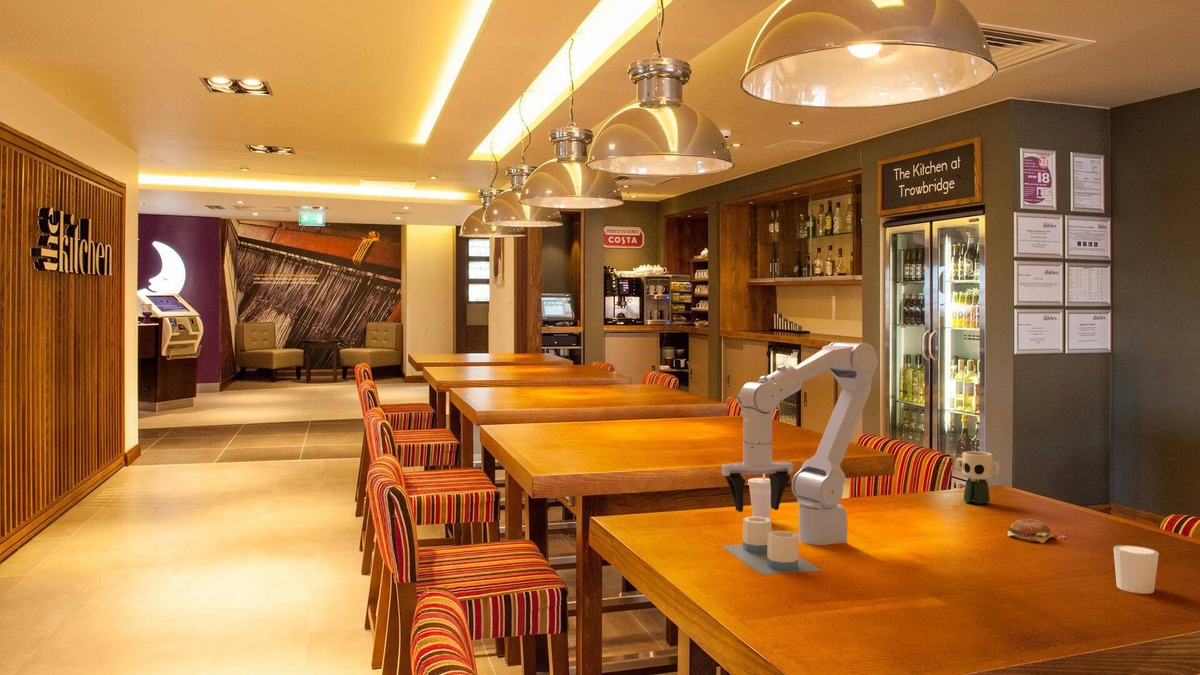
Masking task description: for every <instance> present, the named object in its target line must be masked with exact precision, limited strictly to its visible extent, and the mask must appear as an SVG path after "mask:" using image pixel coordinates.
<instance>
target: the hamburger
mask: <svg viewBox="0 0 1200 675" xmlns="http://www.w3.org/2000/svg"><path fill="white" fill-rule="evenodd" d="M1010 536H1013V537H1014V538H1016V539H1017V540H1020V541H1026V542H1033V543H1034V542H1036V543H1037V542H1038V543H1041V544H1044V543H1045V542H1046V541H1048V540H1049V539H1050V538H1053V539H1062V540H1066V538H1068V536H1067V535H1064V534H1062V533H1057V532H1052V531H1051V529H1050V527H1049V526H1048V525H1047V524H1046V523H1045V522H1044V521H1040V520H1039V519H1033V518H1032V519H1031V518H1028V519H1024V518H1023V519H1017V520H1015V521H1014V522H1012V523H1011V525H1010V526H1009V527H1008V531H1007V537H1010Z"/></svg>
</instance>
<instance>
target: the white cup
mask: <svg viewBox="0 0 1200 675" xmlns="http://www.w3.org/2000/svg"><path fill="white" fill-rule="evenodd" d="M1159 554H1160V553H1159V551H1157V550H1155V549H1153V548H1149V547H1144V546H1139V545H1132V544H1131V545H1129V544H1128V545H1127V544H1124V545H1122V544H1121V545H1119V544H1118V545H1115V546H1114V547H1113V558H1114V567H1115V568H1114V570H1115V571H1114V572H1115V580H1116V581H1115V582H1116V587H1117V588H1118V589H1119V590H1122V591H1125V592H1129V593H1134V594H1145V595H1146V594H1153V593H1154V592H1155V588H1156V587H1155V586H1156V585H1155V584H1156V578H1157V571H1158V570H1157V569H1158V564H1159V563H1158V562H1159Z"/></svg>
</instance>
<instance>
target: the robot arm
mask: <svg viewBox="0 0 1200 675" xmlns="http://www.w3.org/2000/svg"><path fill="white" fill-rule="evenodd" d="M878 364H879V360H878V356H877V354H876V350H875V349H874V346H872V345H871V344H869V343H867V342H860V343H859V342H856V343H855V342H840V341H833V342H831V343H829V344H827V345H824V346H822V348H821V350H819V351H817V352H816V353H815V354H812V355H811V356H809V357H808V358H806V359H805V360H803V361H801V362H800V363H799V364H797V365H796V366H792V365H785V364H784V365H782V364H780V365H778V366H776V370H775V371H773V372H772V373H770V374H768V375H762V376H760V377H759V378H758V379H759V380H757V381H756V382H754V381H749V382H746V383H745V384H744V385H743V386H742V387H741V389H740V391H739V392H738V395H736V400H737V403H738V406H739V407H740V409H741V416H742V418H743V420H742V422H743V425H742V426H743V427H742V431H743V432H742V441H743V442H742V462H738V463H737V462H736V463H728V464H721V475H722V476H724V479H725V480H726V483H727V484H728V487H729V490H730V492H731V494H732V498H733V501H734V507H735V510H736V511H737V512H739V513H740V512H741V513H742V512H743V511H744V490H745V483H746V479H744V478H743V475H763V474H765V475H766V474H768V476H769V478H768V479H770V485H771V509H773V510H775V511H778V510H779V508H780V503H781V500H782V497H783V494H784V492H785V489H786V488H787V486H788V483H790V481H791V491H792V494H793V495H794V496H795V497H796V501H797V503H798V542H801V543H804V544H806V545H807V544H808V545H813V546H815V545H816V546H827V545H834V544H848V522H849V521H848V514H847V511H846V509H845V507H844V506H843V505H842V504H839V503H840V501H841V499H842V497H843V494H844V483H845V481H846V478H847V477H846V474H845V472H844V471H843V470H842V467H841V465H842V462H843V459H844V457H845V455H846V452H847V449H848V447H849V444H850V442H851V440H852V437H853V435H854V432H855V430H856V428H857V425H858V423H859V421H860V417H861V415H862V413H863V411H864V407H866V403H867V401H868V398H869V395H870V393H871V390H872V382H873V377H874V375H875V372H876V369H877V366H878ZM828 370H829V371H830V372H831V374H832V376H834V379H835V380H836V381H837V384H839V385H840V387H841V392H840V393H839V397H838V398H837V401H836V403H835V406H834V408H833V410H832V413H831V416H830V418H829V421H828V422H827V425H826V428H825V430H824V432H823V435H822V437H821V440H820V442H819V444H818V446H817V448H816V449H817V450H816V451H815V454H814V455H813V456H811V457H810V458H809V459H807V460H805V461H804V462H803V463H802V465H801V468H799V470H798V471H797V472H795V474H794V476H793V477H792V479H791V475H790V474H793V473H794V469H793V468H794V464H793V463H792V462H789V461H784V462H783V461H773V412H774V411H775V410H776V409H777V408H778V405H779V403H780V402H781V401H783V400H784V399H787V397H790V396H792V395H793V394H795V393H797V392H799V391H801V389H802V387H803V382H805V381H807V380H809V379H811V378H814V377H815V376H818V375H820V374H822V373H824V372H826V371H828Z"/></svg>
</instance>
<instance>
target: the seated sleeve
mask: <svg viewBox="0 0 1200 675" xmlns="http://www.w3.org/2000/svg"><path fill="white" fill-rule="evenodd" d="M798 556H799V534H797V533H796V532H793V531H785V530H772V531H771V532H770V533H768V534H767V566H769V567H770V568H772V569H776V570H782V571H785V570H795V569H796V568H797V567H798Z"/></svg>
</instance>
